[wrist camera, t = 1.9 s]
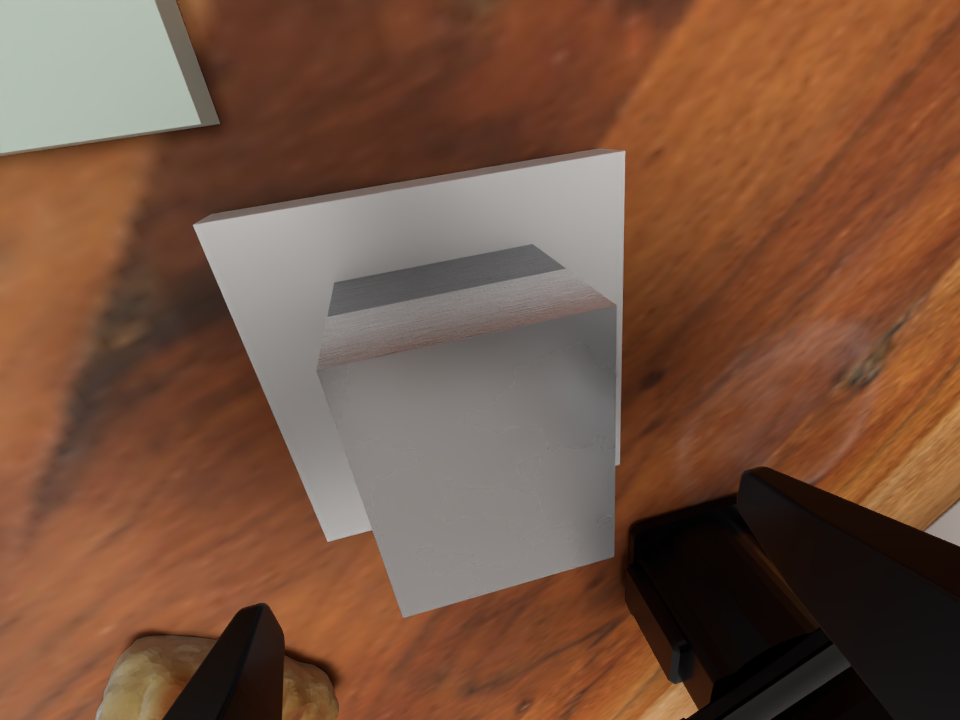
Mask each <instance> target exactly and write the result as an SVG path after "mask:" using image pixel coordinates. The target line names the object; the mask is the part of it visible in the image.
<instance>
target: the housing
mask: <svg viewBox="0 0 960 720" xmlns="http://www.w3.org/2000/svg"><path fill="white" fill-rule="evenodd" d="M616 355H617V305H616V304H614V303H613V302H612V301H610V300H609V299H608V298H606V297H605V296H603V295H602V294H601V293H599V292H598V291H597V290H595V289H594V288H592V287H591V286H590V285H588V284H587V283H586V282H584V281H583V280H581V279H580V278H579V277H577V276H576V275H574V274H573V273H572V272H570V271H569V270H568V269H566V268H565V267H563V266H562V265H561V264H559V263H558V262H557V261H555V260H554V259H552V258H551V257H550V256H548V255H547V254H546V253H544V252H543V251H541V250H540V249H539V248H537V247H536V246H535V245H533V244H530V245H525V246H520V247H515V248H510V249H505V250H499V251H494V252H489V253H484V254H479V255H474V256H468V257H463V258H458V259H453V260H448V261H443V262H437V263H432V264H427V265H422V266H417V267H412V268H406V269H401V270H396V271H391V272H386V273H381V274H376V275H370V276H365V277H360V278H355V279H350V280H345V281H339V282H334V286H333V291H332V296H331V301H330V305H329V310H328V315H327V320H326V325H325V330H324V335H323V340H322V345H321V349H320V354H319V359H318V364H317V369H316V372H317V374H318V377H319V380H320V383H321V386H322V389H323V391H324V394H325V397H326V400H327V403H328V406H329V409H330V411H331V414H332V417H333V420H334V423H335V426H336V428H337V431H338V434H339V437H340V440H341V443H342V445H343V448H344V451H345V454H346V457H347V460H348V463H349V465H350V468H351V471H352V474H353V477H354V480H355V482H356V485H357V488H358V491H359V494H360V497H361V500H362V502H363V505H364V508H365V511H366V514H367V517H368V519H369V522H370V525H371V528H372V531H373V534H374V536H375V539H376V542H377V545H378V548H379V551H380V554H381V556H382V559H383V562H384V565H385V568H386V571H387V573H388V576H389V579H390V582H391V585H392V588H393V591H394V593H395V596H396V599H397V602H398V605H399V608H400V610H401V613H402V616H403V618H405V617H409V616H412V615H415V614H419V613H422V612H426V611H429V610H433V609H436V608H440V607H443V606H446V605H450V604H453V603H457V602H460V601H464V600H467V599H471V598H474V597H477V596H481V595H484V594H488V593H491V592H495V591H498V590H501V589H505V588H508V587H512V586H515V585H519V584H522V583H526V582H529V581H532V580H536V579H539V578H543V577H546V576H550V575H553V574H556V573H560V572H563V571H567V570H570V569H574V568H577V567H581V566H584V565H587V564H591V563H594V562H598V561H601V560H605V559H608V558H612V557H614V537H615V446H616Z"/></svg>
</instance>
